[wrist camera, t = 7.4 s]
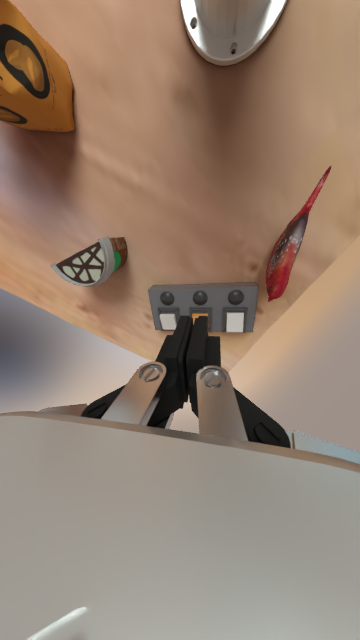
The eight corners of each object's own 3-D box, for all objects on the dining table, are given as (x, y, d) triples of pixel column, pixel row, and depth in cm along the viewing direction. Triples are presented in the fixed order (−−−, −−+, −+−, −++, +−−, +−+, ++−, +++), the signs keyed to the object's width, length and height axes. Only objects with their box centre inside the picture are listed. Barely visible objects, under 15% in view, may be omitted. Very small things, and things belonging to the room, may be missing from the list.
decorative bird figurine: (251, 285, 35) (262, 305, 27) (298, 175, 26) (337, 151, 17) (265, 288, 35) (281, 309, 26) (318, 178, 26) (367, 157, 17)
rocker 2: (226, 312, 35) (227, 313, 35) (243, 312, 35) (243, 313, 34) (226, 330, 36) (226, 332, 35) (242, 331, 36) (242, 332, 35)
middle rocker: (192, 313, 36) (192, 316, 35) (207, 313, 35) (207, 316, 35) (193, 327, 39) (193, 330, 38) (208, 328, 38) (208, 330, 37)
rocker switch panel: (152, 285, 39) (147, 290, 36) (255, 282, 35) (259, 287, 32) (159, 323, 44) (154, 331, 41) (250, 324, 39) (253, 333, 36)
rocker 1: (160, 313, 37) (159, 316, 37) (174, 313, 37) (173, 316, 36) (164, 326, 40) (163, 329, 39) (177, 326, 39) (176, 329, 39)
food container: (100, 282, 41) (70, 297, 33) (85, 256, 39) (48, 266, 30) (143, 263, 37) (121, 276, 29) (129, 234, 35) (101, 237, 26)
